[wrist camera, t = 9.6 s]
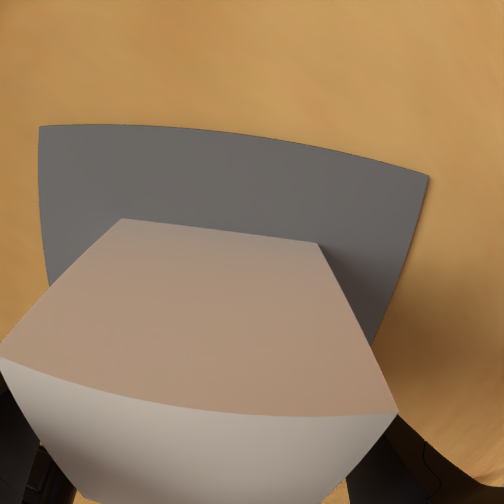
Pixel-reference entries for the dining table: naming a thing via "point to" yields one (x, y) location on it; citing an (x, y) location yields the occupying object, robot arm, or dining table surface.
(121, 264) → the closed white box
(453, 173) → the dining table surface
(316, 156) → the mat
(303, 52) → the dining table surface
